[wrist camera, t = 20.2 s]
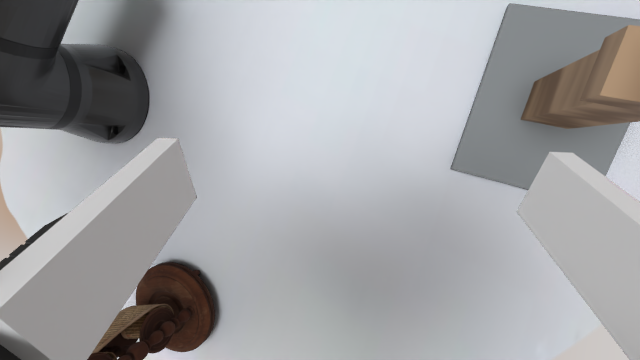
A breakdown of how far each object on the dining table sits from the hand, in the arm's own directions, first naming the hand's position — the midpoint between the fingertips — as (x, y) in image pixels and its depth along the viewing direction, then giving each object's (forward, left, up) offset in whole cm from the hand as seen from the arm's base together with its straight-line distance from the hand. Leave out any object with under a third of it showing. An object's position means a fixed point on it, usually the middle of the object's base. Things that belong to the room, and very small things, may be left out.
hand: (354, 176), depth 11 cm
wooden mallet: (+14, +9, -25) cm, 30 cm away
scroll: (-26, -33, -26) cm, 49 cm away
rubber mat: (+14, +9, -26) cm, 31 cm away
